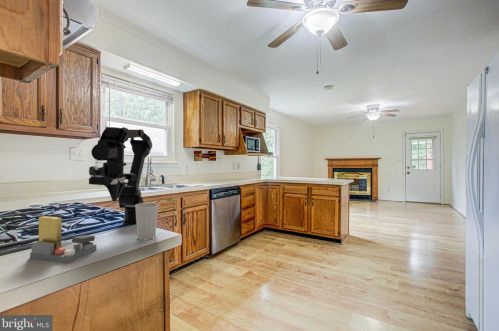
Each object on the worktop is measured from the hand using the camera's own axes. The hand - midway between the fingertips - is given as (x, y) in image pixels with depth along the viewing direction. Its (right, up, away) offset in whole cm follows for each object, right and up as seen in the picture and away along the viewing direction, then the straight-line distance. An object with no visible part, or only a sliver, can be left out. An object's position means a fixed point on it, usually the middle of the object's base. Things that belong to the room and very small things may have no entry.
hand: (114, 201), depth 93 cm
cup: (+13, -13, -3) cm, 19 cm away
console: (-4, -13, -19) cm, 24 cm away
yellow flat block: (-7, -11, -21) cm, 25 cm away
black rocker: (+1, -9, -18) cm, 20 cm away
